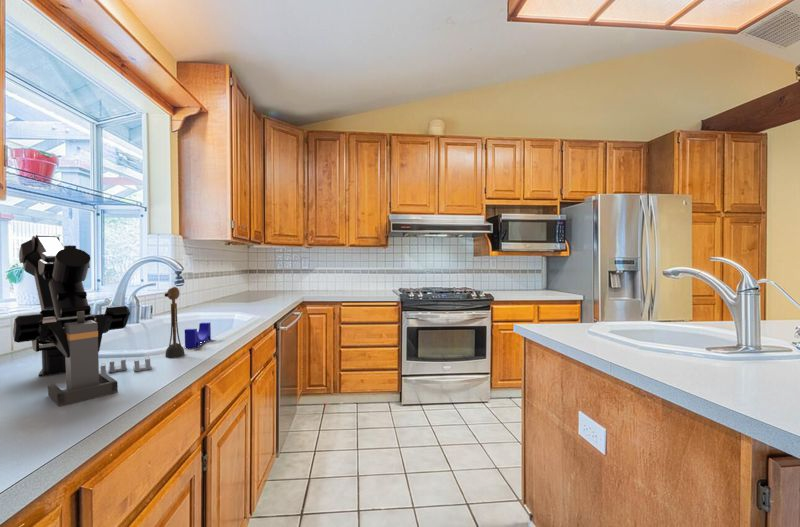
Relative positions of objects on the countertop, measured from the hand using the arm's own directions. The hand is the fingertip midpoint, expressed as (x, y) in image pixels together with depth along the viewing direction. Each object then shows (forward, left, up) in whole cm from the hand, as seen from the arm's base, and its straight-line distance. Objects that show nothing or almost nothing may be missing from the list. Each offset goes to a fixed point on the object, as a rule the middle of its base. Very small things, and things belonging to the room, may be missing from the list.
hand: (83, 354), depth 78 cm
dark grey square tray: (-1, 0, -9) cm, 9 cm away
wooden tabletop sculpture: (-23, +19, -9) cm, 31 cm away
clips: (-15, +6, -9) cm, 18 cm away
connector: (-1, 0, -8) cm, 8 cm away
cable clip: (-36, +26, -9) cm, 45 cm away
